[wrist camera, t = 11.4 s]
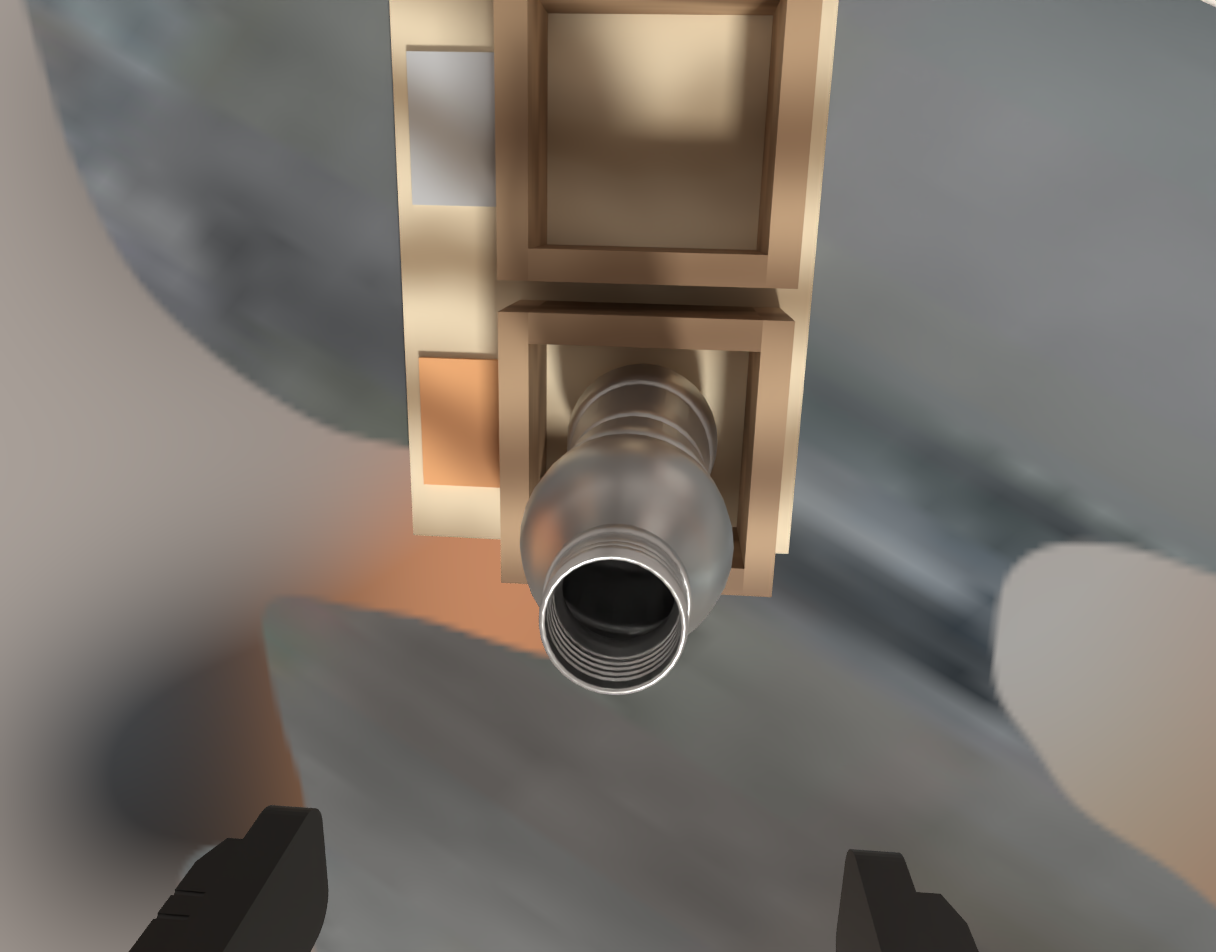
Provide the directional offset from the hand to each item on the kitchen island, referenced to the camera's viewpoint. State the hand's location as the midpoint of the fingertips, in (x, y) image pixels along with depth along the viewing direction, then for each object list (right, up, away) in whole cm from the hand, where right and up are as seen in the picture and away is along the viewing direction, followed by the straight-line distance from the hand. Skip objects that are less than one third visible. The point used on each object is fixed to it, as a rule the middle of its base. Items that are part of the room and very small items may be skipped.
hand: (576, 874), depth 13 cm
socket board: (0, +15, +26) cm, 29 cm away
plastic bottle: (+2, +8, +27) cm, 28 cm away
